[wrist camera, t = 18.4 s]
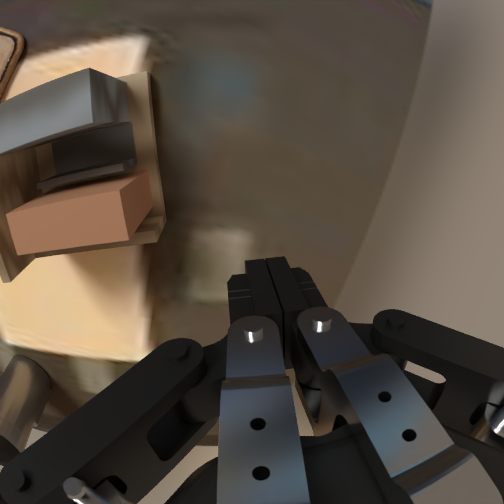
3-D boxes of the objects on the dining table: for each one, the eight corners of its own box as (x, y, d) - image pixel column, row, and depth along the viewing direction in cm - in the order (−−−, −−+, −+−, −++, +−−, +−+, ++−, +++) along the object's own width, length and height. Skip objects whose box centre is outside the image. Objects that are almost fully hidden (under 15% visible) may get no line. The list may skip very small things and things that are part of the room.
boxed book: (153, 205, 31) (129, 240, 22) (61, 220, 30) (17, 255, 21) (147, 169, 30) (119, 190, 20) (54, 188, 29) (5, 214, 20)
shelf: (167, 220, 34) (144, 268, 23) (52, 237, 32) (3, 282, 22) (150, 73, 27) (114, 48, 16) (30, 108, 25) (-34, 112, 15)
